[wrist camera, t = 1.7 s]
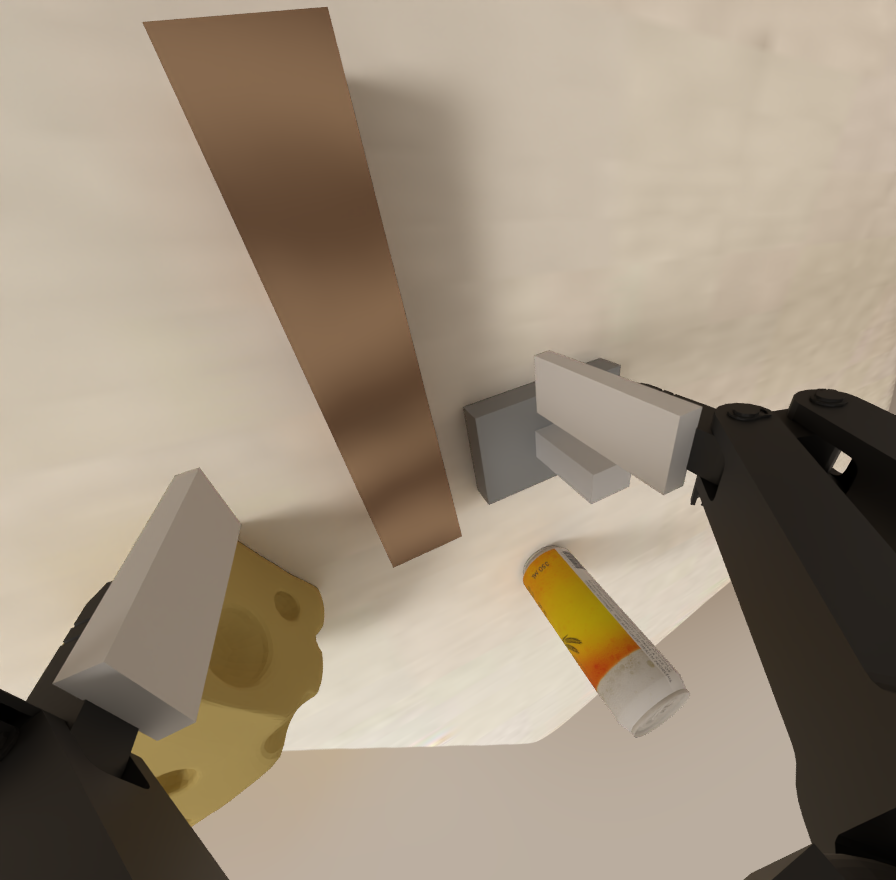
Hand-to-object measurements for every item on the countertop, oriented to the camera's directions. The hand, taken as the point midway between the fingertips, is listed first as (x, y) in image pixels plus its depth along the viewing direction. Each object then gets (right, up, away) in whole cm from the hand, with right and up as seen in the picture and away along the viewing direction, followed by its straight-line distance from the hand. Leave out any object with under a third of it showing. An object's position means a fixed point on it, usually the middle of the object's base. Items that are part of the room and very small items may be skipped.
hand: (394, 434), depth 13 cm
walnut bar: (-3, +4, +7) cm, 9 cm away
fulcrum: (+9, +1, +14) cm, 17 cm away
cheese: (-15, -11, +11) cm, 21 cm away
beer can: (+12, -14, +24) cm, 30 cm away
